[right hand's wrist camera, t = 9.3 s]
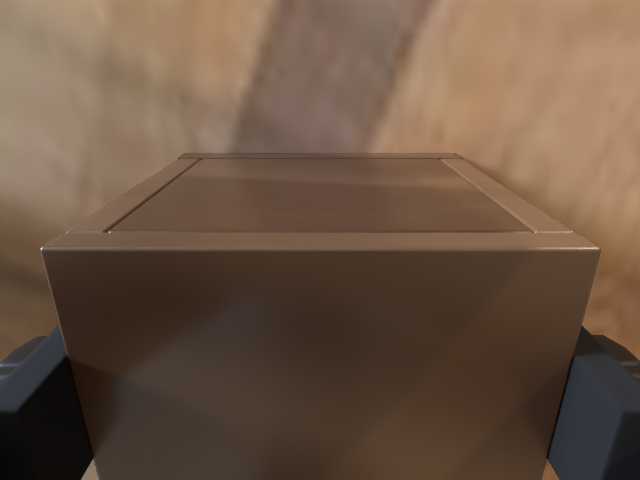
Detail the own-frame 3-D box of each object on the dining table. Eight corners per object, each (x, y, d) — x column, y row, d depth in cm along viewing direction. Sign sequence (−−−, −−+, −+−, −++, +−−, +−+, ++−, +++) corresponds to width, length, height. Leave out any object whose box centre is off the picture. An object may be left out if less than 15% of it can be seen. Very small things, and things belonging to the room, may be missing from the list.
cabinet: (417, 485, 22) (476, 736, 14) (222, 485, 22) (163, 736, 14) (456, 153, 16) (605, 247, 8) (184, 153, 16) (36, 246, 8)
